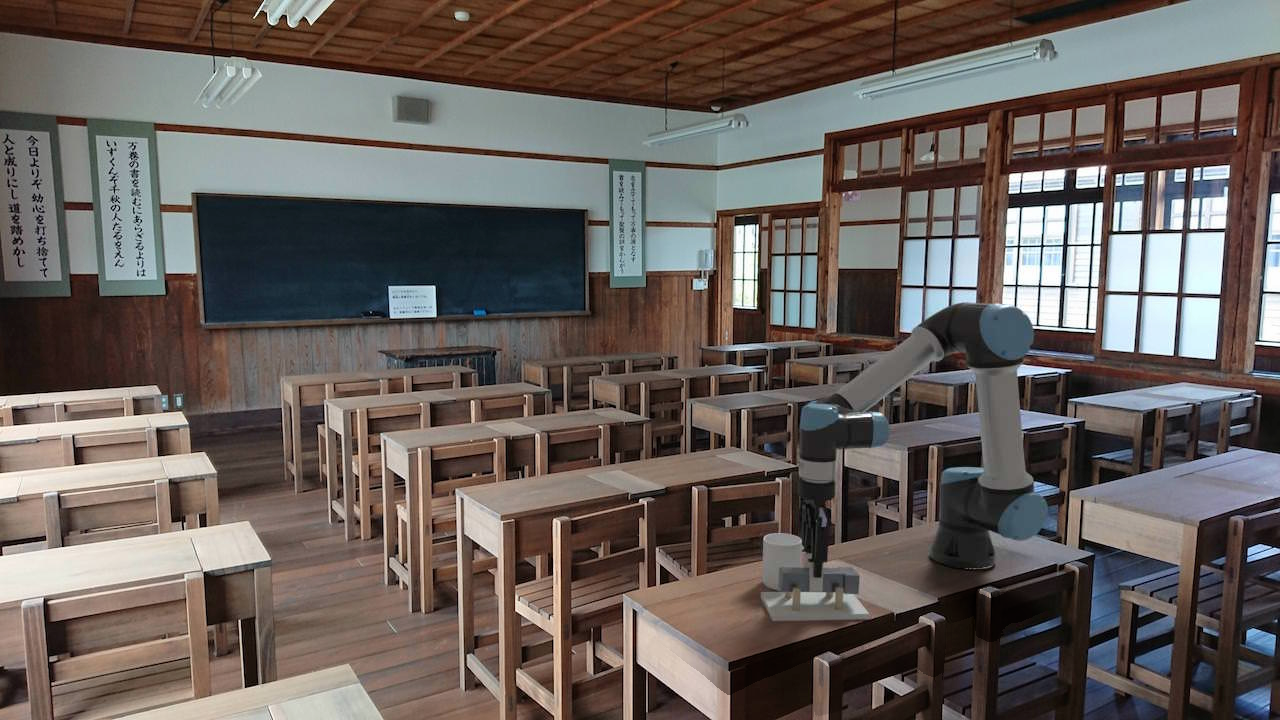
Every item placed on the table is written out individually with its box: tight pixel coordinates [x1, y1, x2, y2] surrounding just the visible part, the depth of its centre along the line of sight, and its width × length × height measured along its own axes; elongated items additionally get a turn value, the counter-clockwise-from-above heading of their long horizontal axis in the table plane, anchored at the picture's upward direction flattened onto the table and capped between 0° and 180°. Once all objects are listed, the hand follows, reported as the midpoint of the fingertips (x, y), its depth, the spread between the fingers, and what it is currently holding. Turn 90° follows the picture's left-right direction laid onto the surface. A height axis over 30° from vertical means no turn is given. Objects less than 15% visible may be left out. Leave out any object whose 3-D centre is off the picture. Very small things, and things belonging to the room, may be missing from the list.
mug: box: [762, 532, 804, 592], centre depth 182 cm, size 9×12×11 cm
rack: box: [760, 586, 870, 622], centre depth 169 cm, size 20×12×6 cm, turn 93°
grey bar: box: [778, 566, 861, 595], centre depth 168 cm, size 16×5×4 cm, turn 93°
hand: (812, 586), depth 168 cm, fingers closed on grey bar, 3 cm apart
